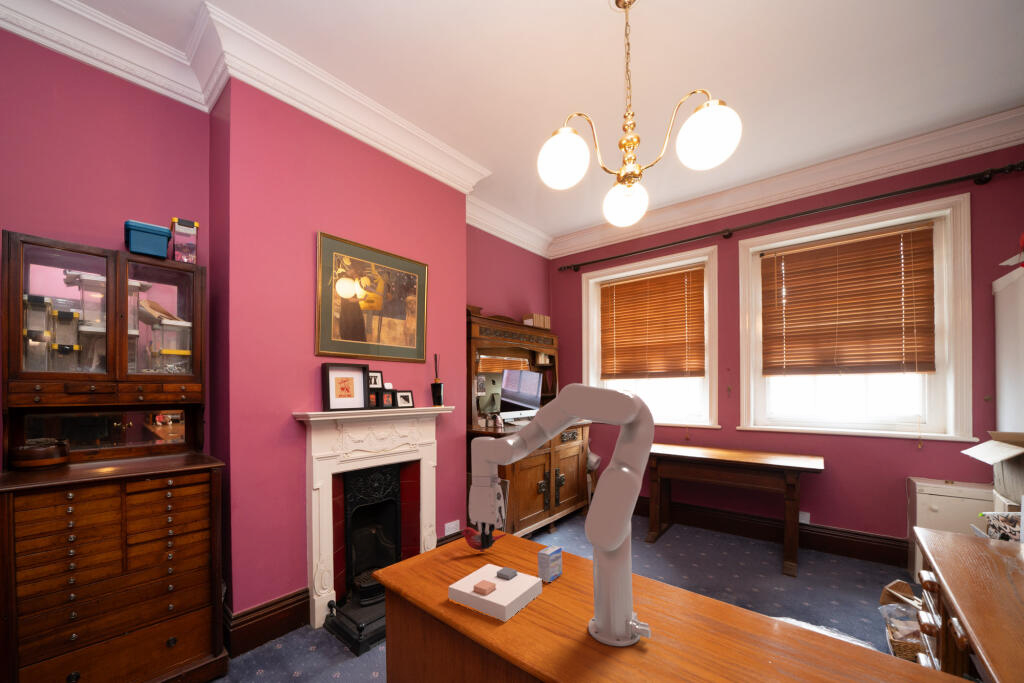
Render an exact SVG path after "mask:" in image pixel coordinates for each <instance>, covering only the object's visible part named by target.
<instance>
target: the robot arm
mask: <svg viewBox="0 0 1024 683" xmlns="http://www.w3.org/2000/svg"><path fill="white" fill-rule="evenodd" d="M579 420H585V421H591V422H596V423H602V424H607V425H614V426H620V431H619V434H618V437H617V439H616V443H615V447H614V450H613V454H612V457H611V459H610V462H609V463H608V465H607V466H606V468H605V469H604V470H603V471H602V472H601V474H600V476H599V479H598V480H597V483H596V487H595V490H594V492H593V496H592V498H591V503H590V505H589V508H588V512H587V515H586V517H585V521H584V532H585V537H586V539H587V541H588V542H589V543H590V545H591V546H592V575H593V579H592V580H593V581H592V582H593V607H594V608H593V611H594V616H593V617H592V618H591V619H590V620H589V622H588V632H589V634H590V635H591V636H592V638H594V639H595V640H596V641H599V642H600V643H602V644H604V645H607V646H612V647H627V646H632V645H633V644H635V643H637V642H638V641H639V640H640V639H641V637H644V638H647V639H651V635H652V629H651V628H650V627H649V626H650V625H649V623H647V622H643V621H640V620H639V619H638V613H637V612H634V605H633V604H634V601H633V600H634V599H633V598H634V597H633V596H634V594H633V574H632V572H633V571H632V568H633V567H632V517H633V513H634V510H635V508H636V504H637V502H638V498H639V495H640V493H641V490H642V485H643V478H644V475H645V471H646V468H647V464H648V462H649V457H650V455H651V454H650V453H651V450H652V447H653V442H654V437H655V423H654V422H655V420H654V418H653V415H652V411H651V410H650V408H649V406H648V405H647V404H646V402H645V401H644V400H643V399H642V398H641V397H640V396H639V395H637V394H636V393H634V392H633V391H630V390H625V389H613V388H611V389H610V388H604V387H598V386H597V387H596V386H591V385H587V384H584V383H577V382H572V383H570V384H567V385H565V386H564V387H563V388H561V390H560V392H559V393H558V396H557V397H555V398H554V399H552V400H551V401H549V402H547V403H546V404H545V405H543V406H542V407H540V408H539V409H538V410H537V411H536V412H535V415H534V418H533V419H532V420H531V421H530V422H529V423H528V424H526V425H525V426H524V427H522V428H521V429H519V430H518V431H516V432H515V433H513V434H511V435H507V436H504V437H503V436H502V437H500V438H495V437H491V436H479V437H474V438H473V439H472V440H471V444H470V446H471V448H470V450H471V483H472V484H470V490H469V496H468V498H469V500H468V516H469V519H470V523H471V524H472V525H474V526H476V527H477V529H478V532H479V533H481V548H483V549H485V550H488V549H489V548H492V547H493V544H494V543H493V538H492V536H493V532H495V531H496V529H500V528H503V526H504V525H503V520H505V519H506V517H505V516H506V513H505V511H506V510H505V503H504V502H505V501H504V495H503V490H502V485H501V484H499V483H501V480H502V479H501V478H500V477H499V474H498V472H499V471H498V465H501V466H507V465H510V464H513V463H515V462H518V461H521V460H522V459H523V458H525V457H527V456H528V455H530V454H531V453H533V452H534V451H536V450H537V449H538V448H540V447H541V446H543V445H544V444H545V443H547V442H549V441H550V440H552V439H554V438H555V437H556V436H558V435H559V434H560V433H562V432H563V431H565V430H566V429H568V428H569V427H571V426H572V425H574V424H575V423H576V422H579ZM492 543H493V544H492Z"/></svg>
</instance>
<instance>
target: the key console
mask: <svg viewBox="0 0 1024 683" xmlns="http://www.w3.org/2000/svg"><path fill="white" fill-rule="evenodd" d="M502 568H503V567H501V566H498V565H494V564H492V563H487V564H485V565H484V566H482V567H480V568H478V569H477V570H474V571H473V572H472V573H469V574H468V575H466V576H464V577H463V578H461V579H459V580H457V581H456V582H453V583H452V584H450V585H449V586H448V598H449V599H452V600H454V601H456V602H459V603H462V604H464V605H467V606H469V607H472V608H474V609H476V610H478V611H481V612H483V613H485V614H488V615H490V616H493V617H496V618H498V619H500V620H502V621H505V622H506V621H507V620H508V619H510V618H511V617H512V616H513V617H514V616H516V615H517V614H518V613H519V612H521V611H522V610H523V609H525V606H526V605H527V604H528V603H529V602H531V601H532V600H533V599H534V598H535V599H537V598H538V597H539V596H540V595H542V594H541V593H543V581H542V579H541V578H538V577H537V576H533V575H530V574H527V573H523V572H519V571H517V576H515V577H514V578H512V579H511V580H509V581H508V580H505V579H501V578H498V577H497V571H499V570H501V569H502ZM482 580H486V581H489V582H492V583H495V584H496V590H495V591H493V592H492V593H490V594H489V595H487V596H484V595H482V594H479V593H476V592H474V585H476V584H477V583H479V582H480V581H482ZM539 594H540V595H539ZM538 595H539V596H538ZM537 596H538V597H537ZM536 597H537V598H536ZM535 599H534V600H535ZM534 600H533V601H534ZM533 601H532V602H533ZM532 602H531V603H532ZM529 604H530V603H529ZM529 604H528V605H529ZM528 605H527V606H528ZM527 606H526V607H527ZM522 608H523V609H522ZM521 609H522V610H521ZM520 610H521V611H520ZM518 611H519V612H518ZM517 612H518V613H517ZM516 613H517V614H516ZM515 614H516V615H515ZM513 617H512V618H513ZM512 618H511V619H512ZM511 619H510V620H511ZM500 620H499V621H500ZM502 621H501V622H502ZM508 621H509V620H508ZM508 621H507V622H508ZM505 622H504V623H505ZM507 622H506V623H507Z"/></svg>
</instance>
